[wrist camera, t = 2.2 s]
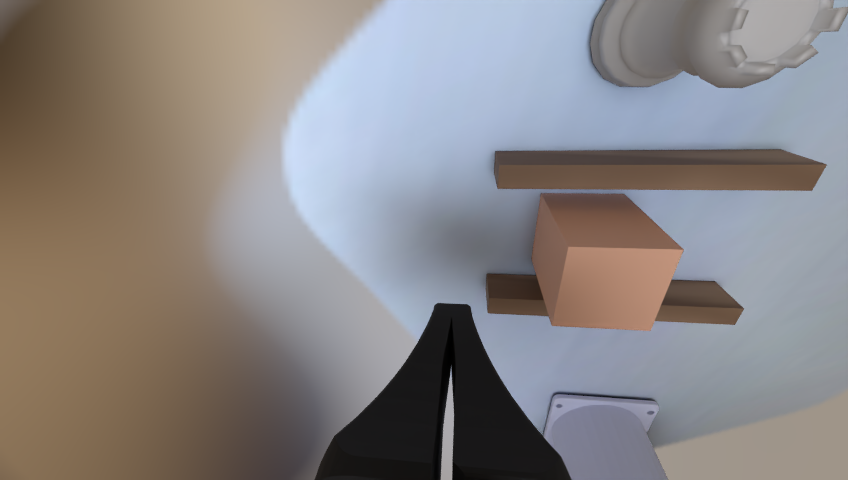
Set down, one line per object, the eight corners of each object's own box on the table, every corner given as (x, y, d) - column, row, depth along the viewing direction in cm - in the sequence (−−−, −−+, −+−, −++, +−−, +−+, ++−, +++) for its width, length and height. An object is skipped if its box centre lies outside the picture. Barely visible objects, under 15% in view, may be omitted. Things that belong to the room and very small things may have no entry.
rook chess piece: (720, -18, 14) (971, -82, 7) (660, 95, 16) (805, 132, 9) (615, -43, 14) (764, -131, 7) (570, 74, 16) (649, 96, 9)
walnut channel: (707, 296, 21) (734, 324, 19) (485, 288, 23) (487, 313, 21) (780, 149, 17) (826, 164, 15) (495, 151, 18) (499, 165, 16)
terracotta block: (605, 260, 21) (650, 330, 16) (531, 258, 22) (551, 325, 16) (623, 193, 19) (683, 249, 14) (541, 193, 19) (568, 246, 14)
